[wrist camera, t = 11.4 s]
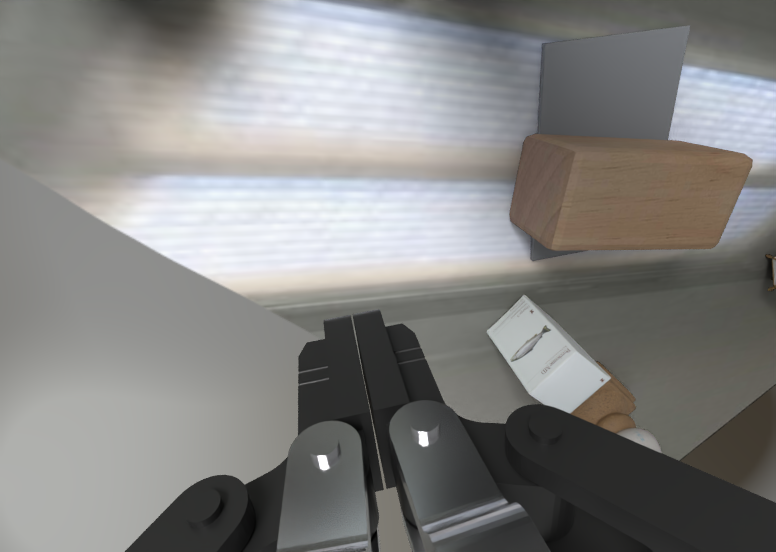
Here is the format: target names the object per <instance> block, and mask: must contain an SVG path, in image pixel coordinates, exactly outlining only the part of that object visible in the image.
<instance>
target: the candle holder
mask: <svg viewBox="0 0 776 552" xmlns="http://www.w3.org/2000/svg"><path fill="white" fill-rule="evenodd" d="M596 363H597V364H598V365H599V366H600V367H601V368H602V369H603V370H604V371H605V372H606V373H607V374H608V375H609V376H610V377H611V379H610V380H609V381H607V382H606V383H605V384H604V385H603V386H602V387H600V388H599V389H598V390H597V391H596V392H595V393H594V394H592V395H591V396H590V397H589V398H588V399H587V400H585V401H584V402H583V403H582V404H581V405H580V406H578V407H577V408H576V409H575V410H574V411H573V412H572V413H570V414H572V415H574V416H577V417H579V418H581V419H583V420H586V421H588V422H590V423H593V424H595V425H597V426H600V427H602V428H604V429H607V430H609V431H611V432H613V433H616V434H618V435H620V436H623V437H625V438H627V439H630V440H632V441H634V442H637V443H639V444H641V445H643V446H646V447H648V448H650V449H653V450H655V451H657V452H660V453H662V449H661V446H660V444H659V442H658V440H657V439H656V437H655V436H654V435H653V434H652V433H650V432H649V431H647V430H645V429H641V428H636V425H635V422H634V421H633V419H632V418H631V417H630V416H628V415H629V414H630V413H631V412H633V411H634V410H635V408H636V406H635V404H634V403H633V402H634V401H635V400H636V399H635V398H634V396H633V395H632V394H631V393H630V392H629V391H628V390H627V389H626V388H625V387H624V386H623V385H622V384H621V383H620V382H619V381H618V380H617V379H616V378H615V377H614V376H613V375H612V374H611V373H610V372H609V371H608V370H607V369H606V368H605V367H604V366H603V365H602V364H601V363H599V362H598V361H596ZM662 454H663V453H662Z"/></svg>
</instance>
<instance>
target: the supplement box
mask: <svg viewBox="0 0 776 552" xmlns="http://www.w3.org/2000/svg"><path fill="white" fill-rule="evenodd" d="M487 333H488V335H489V337H490V338H491V339H492V341H493V342H494V344H495V345H496V347H497V348H498V350H499V351H500V352H501V354H502V355H503V357H504V358H505V359H506V361H507V362H508V364H509V365H510V367H511V368H512V370H513V371H514V373H515V374H516V376H517V377H518V379H519V380H520V381H521V383H522V384H523V386H524V387H525V389H526V390H527V392H528V393H529V395H531V396H532V397H534V398H535V399H537V400H538V401H540V402H541V403H542V404H544V405H548V406H552V407H555V408H558V409H560V410H563V411H565V412H567V413H572V412H573V411H574V410H575V409H576V408H577V407H578V406H580V405H581V404H582V403H583V402H584V401H585V400H587V399H588V398H589V397H590V396H591V395H592V394H594V393H595V392H596V391H597V390H598V389H599V388H600V387H602V386H603V385H604V384H605V383H606V382H607V381H609V380H610V379H611V377H610V376H609V375H608V374H607V373H606V372H605V371H604V370H603V369H602V368H601V367H600V366H599V365H598V364H597V363H596V362H595V361H594V360H593V359H592V358H591V357H590V356H589V355H588V354H587V353H586V352H585V351H584V350H583V348H582V347H581V346H580V345H579V344H578V343H577V342H576V341H575V340H574V339H573V338H572V337H571V336H570V335H569V334H568V333H567V332H566V331H565V330H564V329H563V328H562V327H561V326H560V325H559V324H558V323H557V322H556V321H555V320H554V319H553V318H551V317H550V316H549V315H548V314H547V313H546V312H545V311H544V310H542V309H541V308H540V307H539V306H538V305H536V304H535V303H534V302H533V301H532V300H530V299H529V298H528V297H527V296H526V295H523V296H522V297H521V298H520V299H519V300H518V302H517V303H516V304H515V305H514V306H513V307H512V308H511V309H510V310H509V311H508V312H507V313H506V314H504V315H503V316H502V317H501V318H500V319H499V320H498V321H497V322H496V323H495V324H494V325H493V326H492V327H491V328H490V329H488V330H487Z"/></svg>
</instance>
